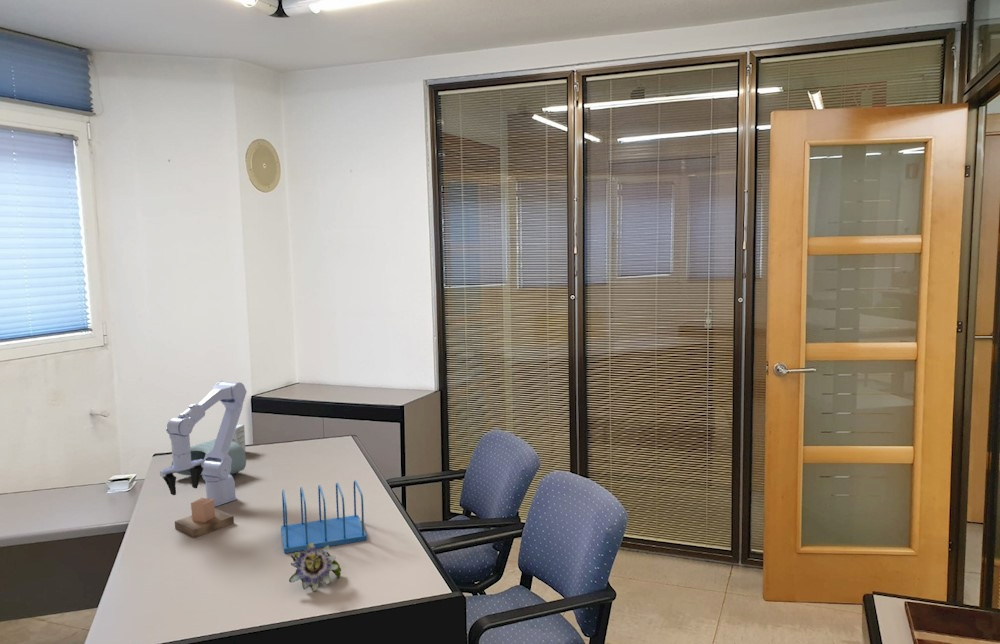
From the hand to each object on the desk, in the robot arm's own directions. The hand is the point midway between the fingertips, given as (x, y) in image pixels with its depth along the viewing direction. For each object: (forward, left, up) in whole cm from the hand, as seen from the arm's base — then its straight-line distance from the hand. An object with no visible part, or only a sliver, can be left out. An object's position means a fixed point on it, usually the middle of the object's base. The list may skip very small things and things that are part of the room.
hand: (184, 491), depth 238 cm
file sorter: (-18, +51, -10) cm, 55 cm away
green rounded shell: (-26, -31, -10) cm, 42 cm away
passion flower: (+2, +73, -10) cm, 74 cm away
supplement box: (-49, -50, -10) cm, 71 cm away
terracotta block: (0, +12, -7) cm, 14 cm away
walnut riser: (0, +12, -9) cm, 15 cm away
